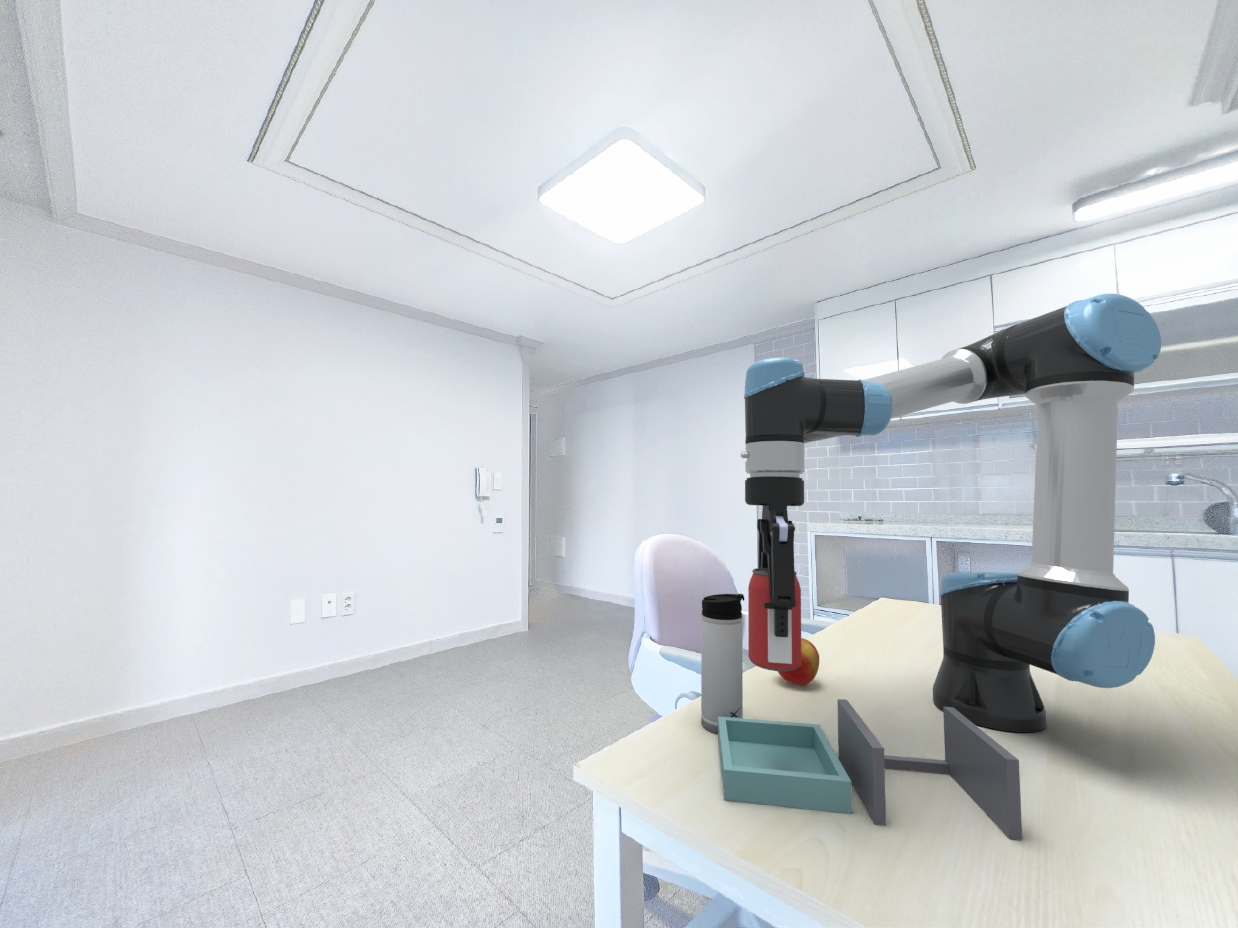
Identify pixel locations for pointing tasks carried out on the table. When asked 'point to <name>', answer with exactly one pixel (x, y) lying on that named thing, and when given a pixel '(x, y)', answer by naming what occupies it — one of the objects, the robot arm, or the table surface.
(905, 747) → the table surface
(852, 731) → the bay
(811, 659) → the apple
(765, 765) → the tray
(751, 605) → the beer can
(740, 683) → the travel mug
